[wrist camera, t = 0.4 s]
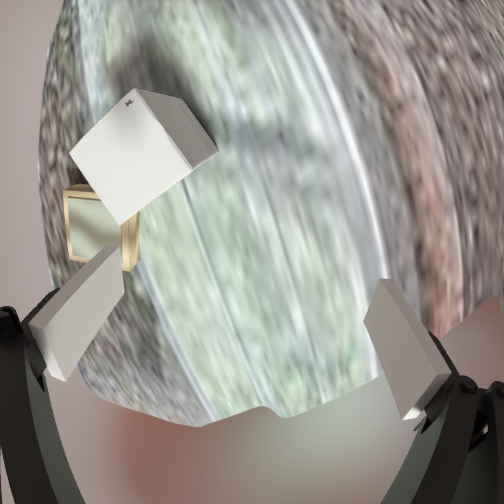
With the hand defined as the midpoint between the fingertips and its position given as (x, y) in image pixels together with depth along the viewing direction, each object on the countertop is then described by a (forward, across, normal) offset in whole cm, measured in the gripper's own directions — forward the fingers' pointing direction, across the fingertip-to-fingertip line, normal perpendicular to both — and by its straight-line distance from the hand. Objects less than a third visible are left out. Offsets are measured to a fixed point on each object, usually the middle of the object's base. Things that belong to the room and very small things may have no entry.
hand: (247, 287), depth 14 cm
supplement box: (+25, -11, +4) cm, 28 cm away
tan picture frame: (+25, -22, -8) cm, 34 cm away
